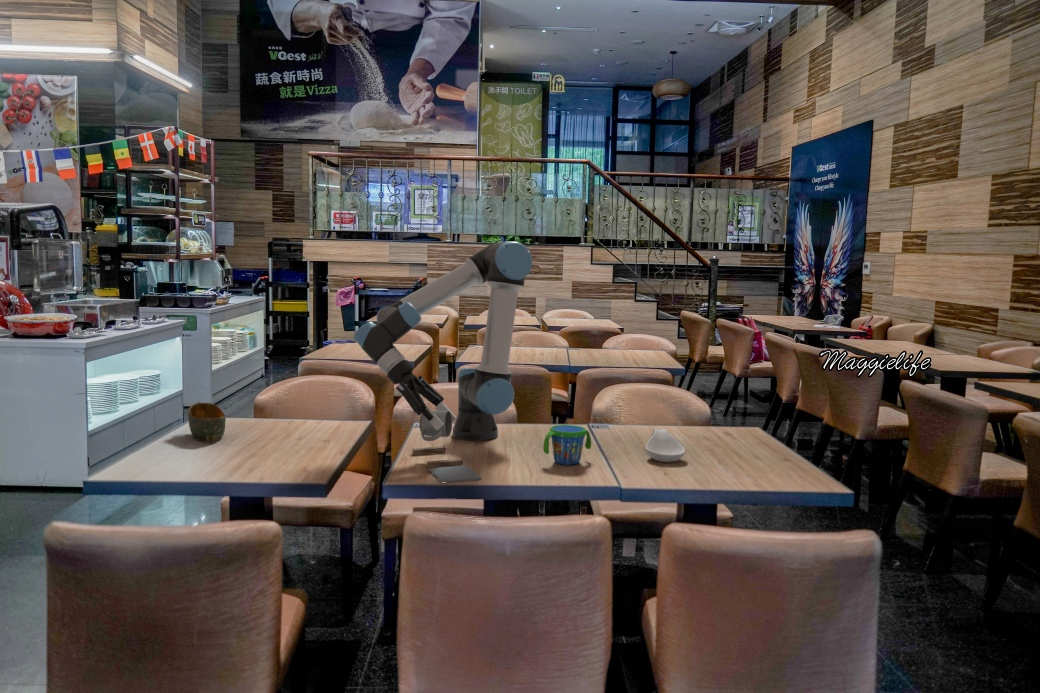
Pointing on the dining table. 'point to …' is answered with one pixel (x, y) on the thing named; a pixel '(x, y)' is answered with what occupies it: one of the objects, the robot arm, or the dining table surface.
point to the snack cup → (567, 443)
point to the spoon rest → (664, 447)
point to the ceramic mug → (431, 431)
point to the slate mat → (455, 473)
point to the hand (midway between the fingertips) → (446, 424)
